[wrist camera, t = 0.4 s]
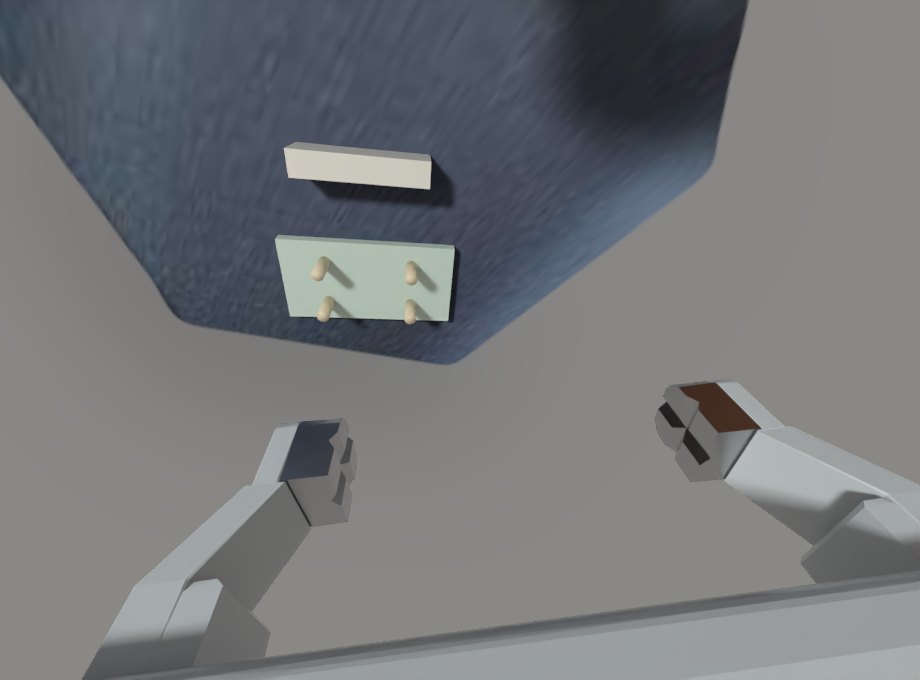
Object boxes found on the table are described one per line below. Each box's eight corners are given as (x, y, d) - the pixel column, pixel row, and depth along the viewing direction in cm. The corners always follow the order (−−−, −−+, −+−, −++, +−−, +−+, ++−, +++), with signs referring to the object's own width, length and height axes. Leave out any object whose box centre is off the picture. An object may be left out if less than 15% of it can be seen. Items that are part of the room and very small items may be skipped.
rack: (292, 311, 56) (281, 332, 51) (278, 234, 49) (263, 251, 44) (447, 316, 59) (450, 337, 54) (453, 245, 52) (457, 262, 48)
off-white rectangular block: (300, 169, 45) (288, 177, 41) (296, 141, 43) (283, 147, 39) (428, 180, 47) (429, 189, 43) (430, 154, 46) (431, 161, 42)
